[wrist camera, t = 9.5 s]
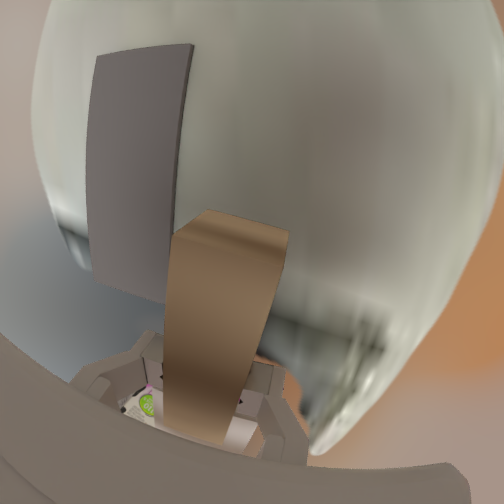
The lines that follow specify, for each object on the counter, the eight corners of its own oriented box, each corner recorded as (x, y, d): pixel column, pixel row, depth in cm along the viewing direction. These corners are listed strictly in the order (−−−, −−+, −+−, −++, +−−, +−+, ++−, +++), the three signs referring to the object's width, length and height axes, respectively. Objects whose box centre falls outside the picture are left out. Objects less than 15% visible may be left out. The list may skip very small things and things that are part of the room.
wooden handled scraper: (171, 199, 10) (125, 221, 7) (330, 242, 10) (339, 282, 7) (160, 429, 17) (146, 459, 14) (238, 454, 16) (229, 487, 14)
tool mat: (100, 57, 18) (96, 56, 18) (193, 45, 17) (190, 43, 16) (97, 278, 28) (94, 280, 28) (172, 303, 27) (169, 306, 27)
